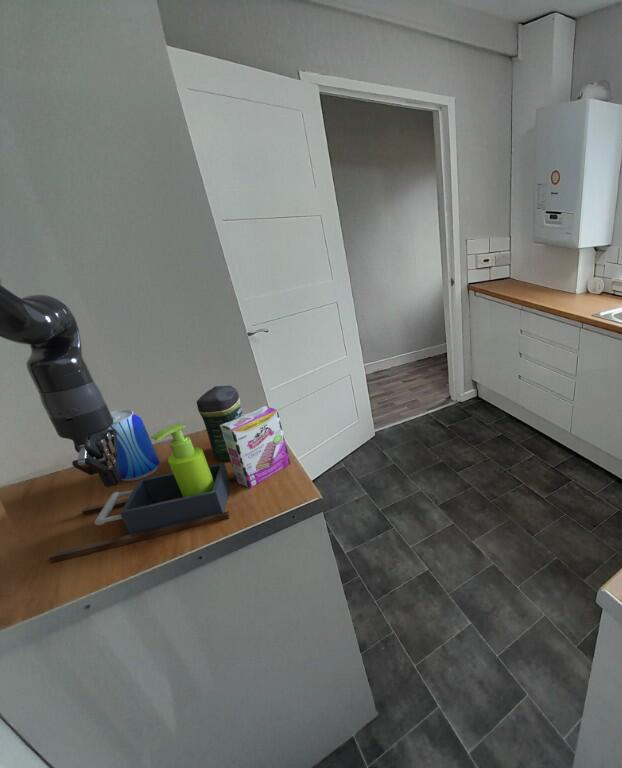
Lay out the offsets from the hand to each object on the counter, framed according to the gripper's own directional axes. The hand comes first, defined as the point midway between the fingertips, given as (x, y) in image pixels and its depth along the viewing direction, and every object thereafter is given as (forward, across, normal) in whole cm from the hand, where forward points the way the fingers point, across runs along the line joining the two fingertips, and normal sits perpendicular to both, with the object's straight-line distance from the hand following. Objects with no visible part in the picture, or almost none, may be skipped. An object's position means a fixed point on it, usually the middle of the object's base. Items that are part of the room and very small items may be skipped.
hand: (113, 483), depth 81 cm
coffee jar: (+10, -21, +16) cm, 28 cm away
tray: (+9, 0, +7) cm, 12 cm away
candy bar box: (+10, -7, +24) cm, 27 cm away
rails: (+10, 0, +4) cm, 11 cm away
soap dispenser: (+10, 0, +12) cm, 16 cm away
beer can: (+10, -20, -4) cm, 23 cm away
